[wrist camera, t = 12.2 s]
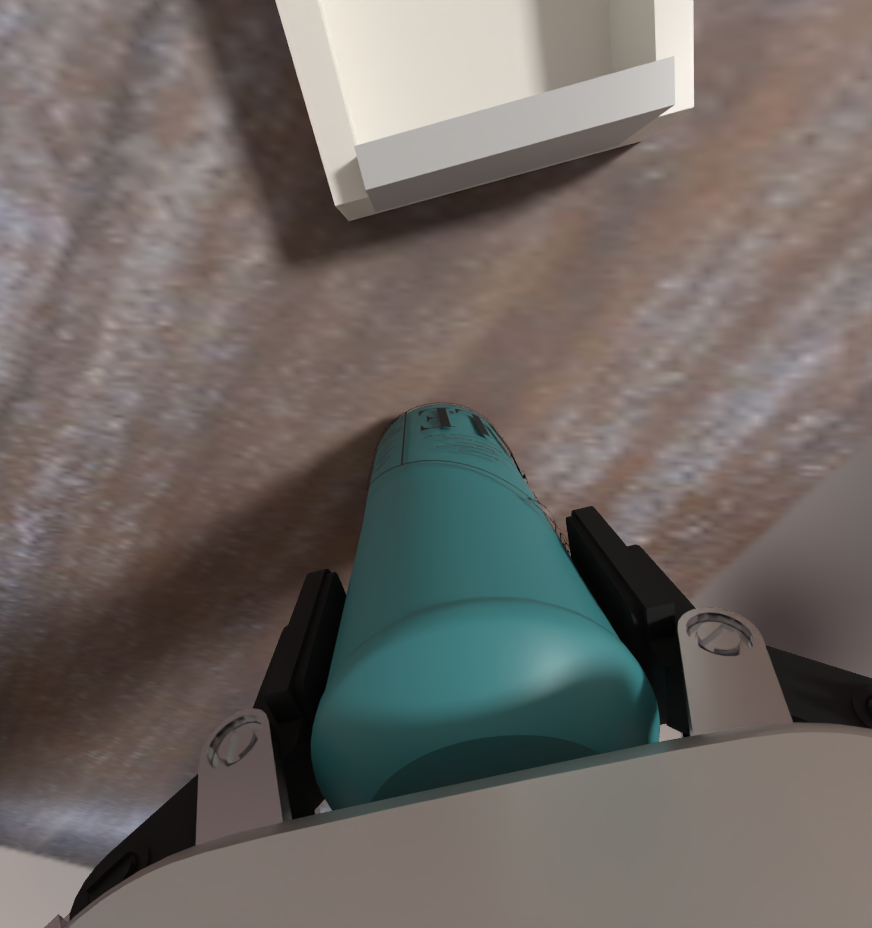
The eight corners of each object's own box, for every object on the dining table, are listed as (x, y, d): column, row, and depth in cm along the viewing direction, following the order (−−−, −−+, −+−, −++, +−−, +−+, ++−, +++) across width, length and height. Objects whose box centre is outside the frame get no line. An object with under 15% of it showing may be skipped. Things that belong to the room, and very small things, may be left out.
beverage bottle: (386, 516, 23) (276, 1432, 5) (364, 397, 20) (-89, 1372, 2) (504, 501, 23) (877, 1351, 5) (497, 380, 21) (1274, 1189, 2)
